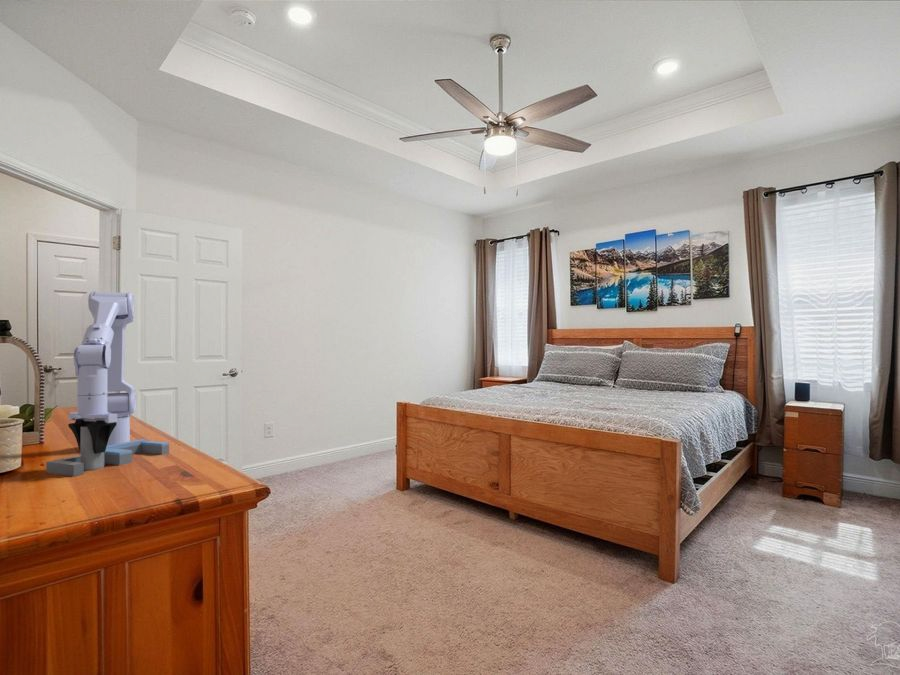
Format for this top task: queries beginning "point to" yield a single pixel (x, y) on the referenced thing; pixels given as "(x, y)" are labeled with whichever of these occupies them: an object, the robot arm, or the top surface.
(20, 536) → the top surface
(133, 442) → the blue u-shaped bracket
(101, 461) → the grey cylinder
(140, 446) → the grey flat angled piece
